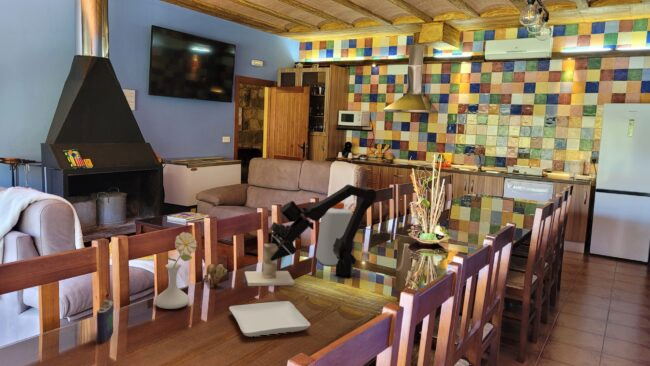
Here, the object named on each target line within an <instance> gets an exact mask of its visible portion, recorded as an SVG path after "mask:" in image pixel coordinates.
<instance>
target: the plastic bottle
mask: <svg viewBox="0 0 650 366" xmlns="http://www.w3.org/2000/svg"><path fill="white" fill-rule="evenodd" d="M352 214H353V212H352V211H351V210H350V209H348V208H347V207H345V203H344V202H343V201H341V202H340V203H338V204H337V205H335V206H333V207H332V208H330V209H329V210H328V211H327V212H326V214H325V215H324V216H323V217H321V218H320V221H319V222H320V223H319V230H318V237H317V243H316V252H315V259H317V261H319V262H320V264H322V265H324V266H327V267H328V266H329V267H331V266H332V267H333V266H334V267H336V264H337V262H338V260H339V259H337V257H336V255H335V254H334V252H333V248H334V247H333V245H334V244H335V241H336V238H338V239H340V238H341V237H342V236H343V235H344V232H345V230H346V228H347V226H348V223H349V221H350V219H351V217H352ZM351 254H352V255H353V252H352V253H351Z"/></svg>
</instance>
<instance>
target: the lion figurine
mask: <svg viewBox="0 0 650 366" xmlns="http://www.w3.org/2000/svg"><path fill="white" fill-rule="evenodd" d="M227 272H228V269H226V268H225V267H224V264H221V263H219V264H216V265H215V264H212V263H210V264H208V265H207V267H206V274H205V275H204V278H205V280H204V282H206V283H208V282H209V279H210V288H214V287H215V285H216V286H217V287H219V286H221V284H220V279H221V278H222V277H223V276H224V275H226V273H227ZM209 277H210V278H209ZM214 281H216V283H214Z"/></svg>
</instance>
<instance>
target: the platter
mask: <svg viewBox="0 0 650 366" xmlns="http://www.w3.org/2000/svg"><path fill="white" fill-rule="evenodd" d="M244 276H245V277H244V278H245V281H246V284H247V286H248V287H257V286H258V287H260V286H261V287H262V286H268V287H269V286H270V287H271V286H295V281H294V279H293V277H292V275H291V274H290V272H289V271H288V270H276V278H271V279H264V277H263V276H262V270H259V271H258V270H257V271H253V270H252V271H251V270H250V271H249V270H248V271H244Z"/></svg>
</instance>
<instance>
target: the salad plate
mask: <svg viewBox="0 0 650 366" xmlns="http://www.w3.org/2000/svg"><path fill="white" fill-rule="evenodd" d="M228 309H229V311H230V313H231V314H232V316H233V317H234V318H235V320H236V322H237V324H238V326H239V328H240V331H241V332H242V333H243V335H244V336H246V337H252V338H253V336H254V337H261V336H260V335H267V336H270V335H269V334H276V335H279V334H278V333H284V334H287V333H286V332H291V333H294V332H300V331H301V332H302V331H304V330H306V329H308V328H309V327H311V325H312V324H311V323H310V322H309V321H308V319H306V317H304V315H303V314H302V313H301V312H300V311H299V310H298V309H297V308H296V306H295V305H294V304H293V303H292V302H291V301H289V300H288V301H286V300H285V301H272V302H271V301H270V302H261V303H259V302H258V303H249V304H239V305H238V304H237V305H231V306H229V308H228Z"/></svg>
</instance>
